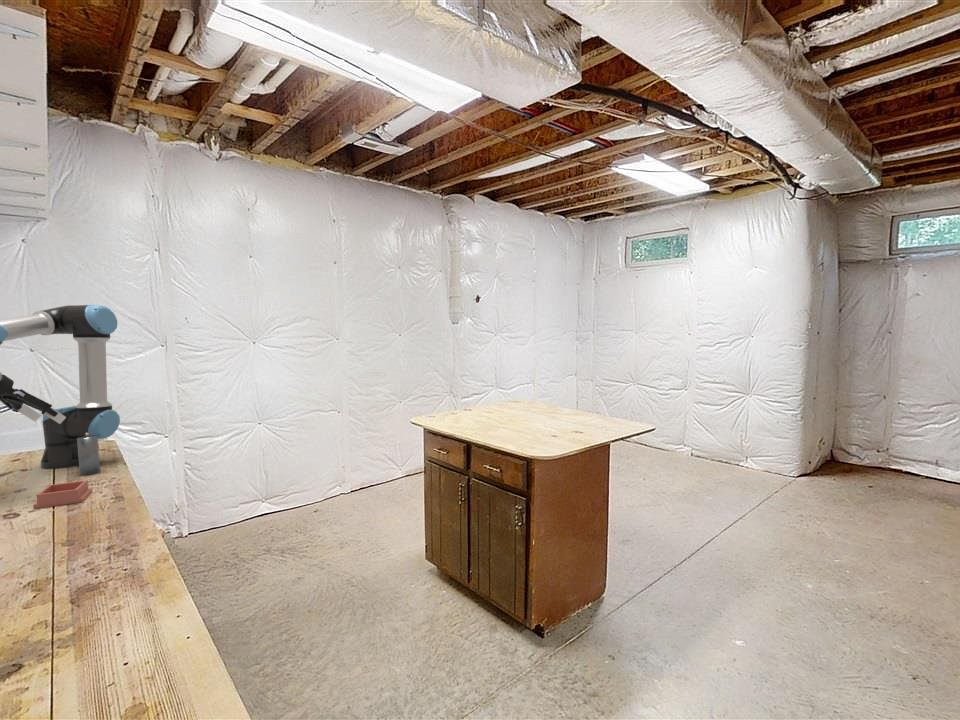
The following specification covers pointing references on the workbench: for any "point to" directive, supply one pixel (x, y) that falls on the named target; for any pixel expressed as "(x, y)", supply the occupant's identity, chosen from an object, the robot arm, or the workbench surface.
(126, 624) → the workbench surface
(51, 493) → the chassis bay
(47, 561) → the workbench surface
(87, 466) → the motor housing
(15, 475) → the workbench surface
